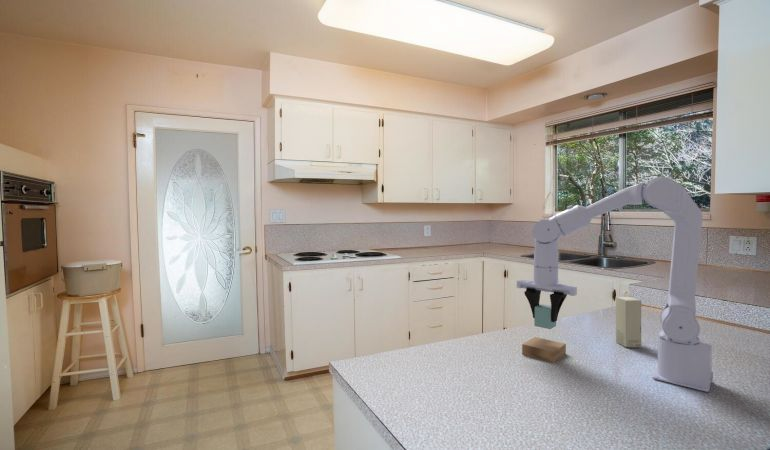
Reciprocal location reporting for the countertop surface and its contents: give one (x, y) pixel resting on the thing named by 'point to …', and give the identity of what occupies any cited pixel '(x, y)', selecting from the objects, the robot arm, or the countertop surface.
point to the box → (628, 321)
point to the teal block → (543, 317)
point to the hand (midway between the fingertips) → (544, 319)
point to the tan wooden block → (544, 349)
